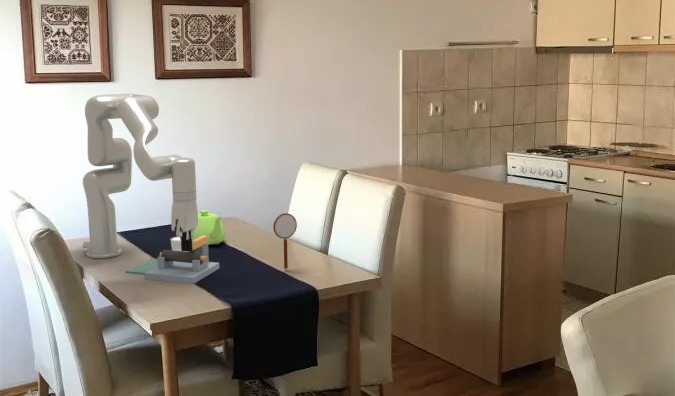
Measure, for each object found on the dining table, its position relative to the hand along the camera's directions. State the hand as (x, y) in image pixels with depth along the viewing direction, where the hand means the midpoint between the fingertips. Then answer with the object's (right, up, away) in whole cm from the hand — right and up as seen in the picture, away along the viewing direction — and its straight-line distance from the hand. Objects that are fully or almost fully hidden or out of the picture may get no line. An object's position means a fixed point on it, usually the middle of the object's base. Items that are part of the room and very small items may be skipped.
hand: (186, 250), depth 244 cm
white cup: (-7, -4, +26) cm, 27 cm away
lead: (-2, -4, +5) cm, 7 cm away
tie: (+2, +1, +7) cm, 7 cm away
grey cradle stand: (-2, -8, +5) cm, 10 cm away
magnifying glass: (+32, -8, +8) cm, 34 cm away
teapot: (-1, -1, +44) cm, 44 cm away
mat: (-16, -7, +13) cm, 21 cm away
